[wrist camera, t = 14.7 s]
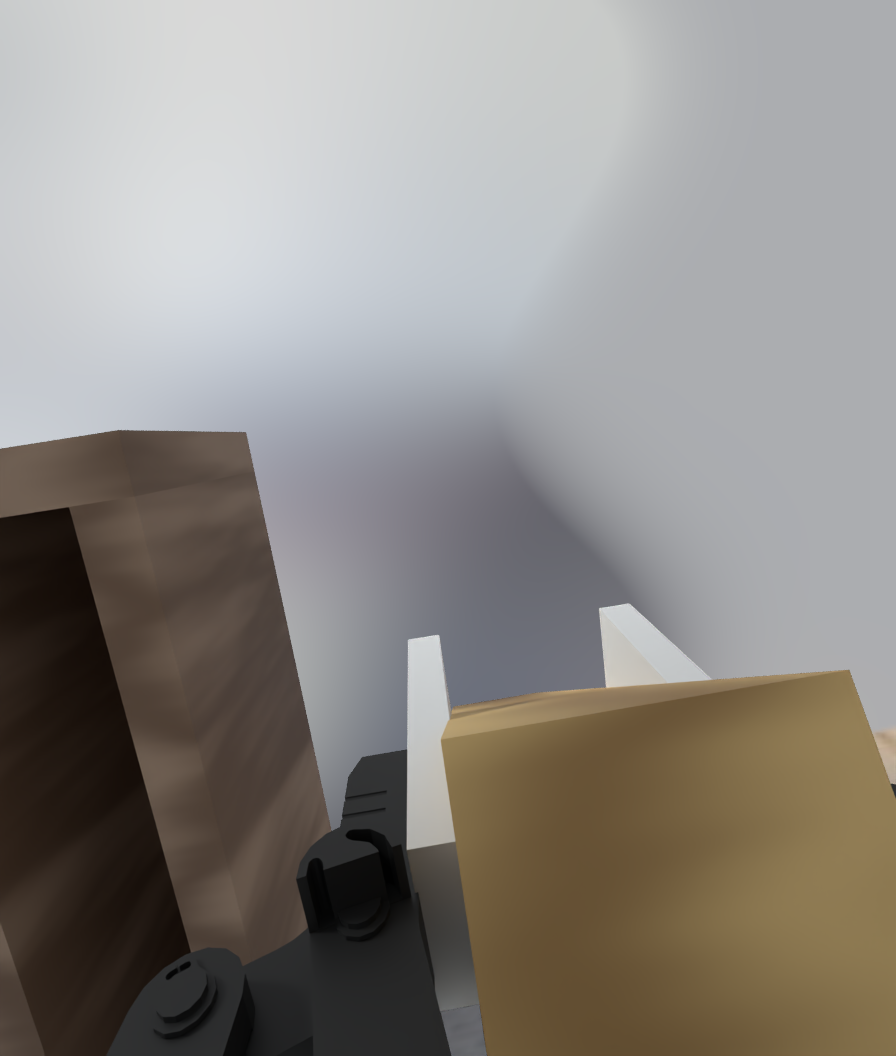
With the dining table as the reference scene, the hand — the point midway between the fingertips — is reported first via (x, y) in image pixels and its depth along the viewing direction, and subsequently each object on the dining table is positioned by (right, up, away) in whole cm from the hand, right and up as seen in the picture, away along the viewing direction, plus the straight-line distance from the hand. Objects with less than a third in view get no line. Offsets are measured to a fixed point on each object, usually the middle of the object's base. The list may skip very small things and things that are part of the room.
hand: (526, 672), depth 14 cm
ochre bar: (+1, -5, +1) cm, 5 cm away
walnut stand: (-12, -23, +14) cm, 29 cm away
